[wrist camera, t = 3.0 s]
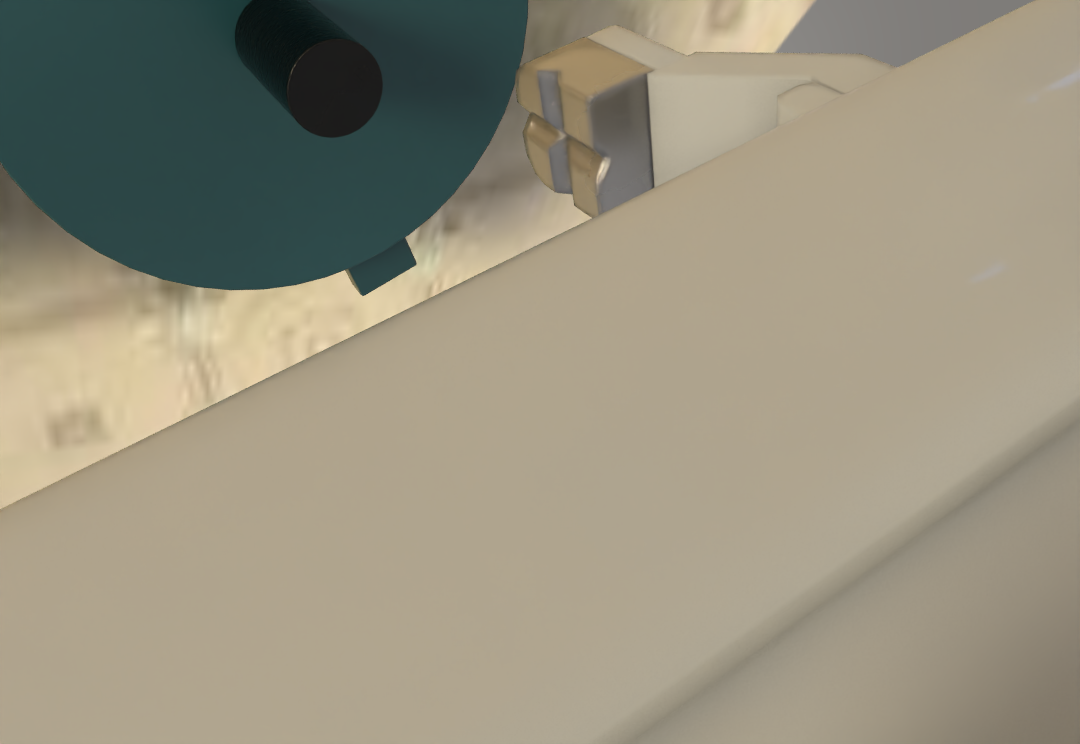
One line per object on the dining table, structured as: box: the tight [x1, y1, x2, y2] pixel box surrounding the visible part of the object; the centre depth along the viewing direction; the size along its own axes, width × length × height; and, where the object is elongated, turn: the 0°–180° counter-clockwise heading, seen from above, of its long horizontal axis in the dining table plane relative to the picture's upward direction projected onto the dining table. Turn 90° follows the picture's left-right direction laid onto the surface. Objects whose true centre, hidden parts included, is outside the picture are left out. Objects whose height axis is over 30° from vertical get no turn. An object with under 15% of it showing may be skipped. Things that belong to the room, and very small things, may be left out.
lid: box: [0, 0, 528, 290], centre depth 27 cm, size 17×17×6 cm
